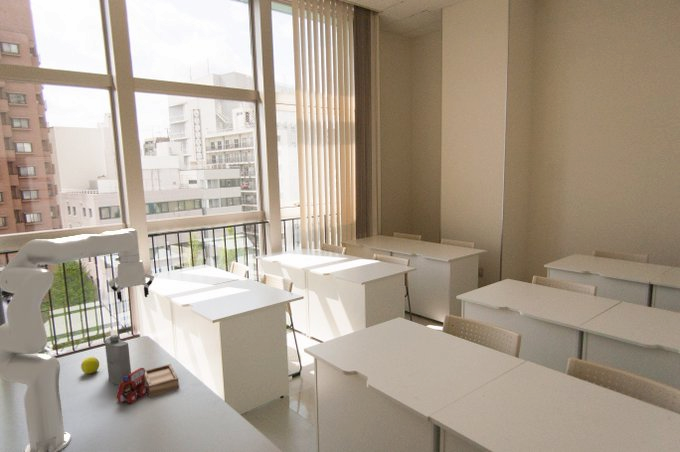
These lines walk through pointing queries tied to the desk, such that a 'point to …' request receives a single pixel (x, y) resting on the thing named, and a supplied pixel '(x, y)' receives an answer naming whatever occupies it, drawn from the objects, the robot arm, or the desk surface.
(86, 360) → the tennis ball
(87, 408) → the desk surface
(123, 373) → the flask
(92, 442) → the desk surface
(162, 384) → the wooden tray
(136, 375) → the toy fire truck
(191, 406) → the desk surface
